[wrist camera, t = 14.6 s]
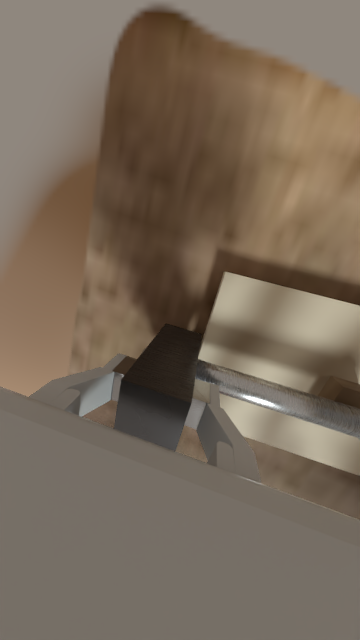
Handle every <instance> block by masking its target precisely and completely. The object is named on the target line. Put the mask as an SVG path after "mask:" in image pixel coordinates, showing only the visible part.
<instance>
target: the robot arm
mask: <svg viewBox="0 0 360 640" xmlns="http://www.w3.org/2000/svg"><path fill="white" fill-rule="evenodd" d="M136 360H137V359H135V358H132V357H129V356H126V355H123V354H120V353H119V354H117V355H116V356H115V357H114V358H113V359H112V360H111V361H109V362H108V363H107V364H106V365H105V366H104V367H103V368H101V367H99V368H95V369H91V370H88V371H84V372H81V373H77V374H73V375H70V376H66V377H62V378H59V379H55V380H52V381H50V382H49V383H47V384H46V385H45V386H43V387H42V388H40V389H39V390H38V391H36V392H35V393H33V394H32V395H30V396H29V397H27V396H24V395H22V394H19V393H16V392H13V391H11V390H8V389H5V388H3V387H0V640H360V520H359V519H356V518H353V517H351V516H348V515H345V514H343V513H340V512H337V511H335V510H332V509H329V508H326V507H324V506H321V505H318V504H316V503H313V502H310V501H308V500H305V499H302V498H299V497H297V496H294V495H291V494H289V493H286V492H283V491H281V490H278V489H275V488H272V487H270V486H267V485H264V484H262V483H261V479H260V475H259V470H258V466H257V462H256V457H255V453H254V451H253V450H252V449H251V447H250V446H249V444H248V443H247V442H246V440H245V439H244V437H243V436H242V434H241V433H240V432H239V430H238V429H237V427H236V426H235V425H234V423H233V422H232V420H231V419H230V418H229V416H228V415H227V413H226V412H225V411H224V409H223V408H220V394H219V386H218V385H215V384H212V383H208V382H205V381H201V380H198V379H195V383H194V390H193V397H192V403H191V406H190V409H189V412H188V415H187V418H186V421H185V424H184V425H186V426H189V427H191V428H194V429H196V431H197V433H198V436H199V439H200V441H201V444H202V447H203V449H204V452H205V454H206V457H207V460H208V462H207V463H205V462H202V461H200V460H197V459H194V458H192V457H189V456H186V455H183V454H181V453H178V452H175V451H173V450H170V449H167V448H165V447H162V446H159V445H157V444H154V443H151V442H148V441H146V440H143V439H140V438H138V437H135V436H132V435H130V434H127V433H124V432H121V431H119V430H116V429H113V428H111V427H108V426H105V425H103V424H100V423H97V422H94V421H92V420H89V419H86V418H84V417H81V416H83V415H85V414H87V413H89V412H90V411H92V410H94V409H96V408H97V407H99V406H101V405H103V404H105V403H106V402H108V401H110V400H111V399H112V400H115V401H118V398H119V391H120V384H121V379H122V378H123V377H124V375H125V374H126V373H127V372H128V370H129V369H130V368H131V367H132V365H133V364H134V363H135V362H136Z"/></svg>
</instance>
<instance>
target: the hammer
mask: <svg viewBox="0 0 360 640" xmlns="http://www.w3.org/2000/svg"><path fill="white" fill-rule="evenodd" d="M201 335H202V334H200V333H196V332H193V331H189V330H186V329H182V328H179V327H176V326H172V325H169V324H165V325H164V327H163V328H162V329H161V330H160V332H159V333H158V334H157V335H156V337H155V338H154V339H153V340H152V342H151V343H150V344H149V345H148V347H146V348H145V349H144V350H143V351H142V353H141V355H140V357H139V358H138V359H137V360H136V362H135V363H134V364H133V365H132V367H131V368H130V369H129V370H128V372H127V373H126V374H125V375H124V377H123V378H122V379H121V384H120V391H119V398H118V405H117V412H116V419H115V426H114V429H116V430H119V431H121V432H124V433H127V434H130V435H132V436H135V437H138V438H140V439H143V440H146V441H148V442H151V443H154V444H157V445H159V446H162V447H165V448H167V449H170V450H173V451H175V450H176V447H177V444H178V442H179V439H180V436H181V433H182V430H183V427H184V424H185V421H186V418H187V415H188V412H189V409H190V406H191V403H192V397H193V390H194V383H195V379H198V380H201V381H205V382H208V383H212V384H215V385H218V386H219V393H220V394H223V395H226V396H229V397H232V398H235V399H238V400H241V401H245V402H248V403H251V404H254V405H257V406H260V407H263V408H266V409H269V410H272V411H276V412H279V413H282V414H285V415H288V416H291V417H294V418H297V419H300V420H303V421H306V422H310V423H313V424H316V425H319V426H322V427H325V428H328V429H331V430H334V431H337V432H340V433H344V434H347V435H350V436H353V437H356V438H358V439H359V441H360V409H359V408H356V407H353V406H349V405H346V404H343V403H340V402H336V401H333V400H330V399H327V398H323V397H320V396H317V395H314V394H310V393H307V392H304V391H301V390H297V389H294V388H291V387H288V386H284V385H281V384H278V383H275V382H271V381H268V380H265V379H262V378H258V377H255V376H252V375H249V374H245V373H242V372H239V371H236V370H232V369H229V368H226V367H223V366H219V365H216V364H213V363H210V362H206V361H203V360H200V359H198V355H199V349H200V342H201Z"/></svg>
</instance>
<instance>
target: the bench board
mask: <svg viewBox="0 0 360 640" xmlns="http://www.w3.org/2000/svg"><path fill="white" fill-rule="evenodd" d="M198 359H200V360H203V361H206V362H210V363H213V364H216V365H219V366H223V367H226V368H229V369H232V370H236V371H239V372H242V373H245V374H249V375H252V376H255V377H258V378H262V379H265V380H268V381H271V382H275V383H278V384H281V385H284V386H288V387H291V388H294V389H297V390H301V391H304V392H307V393H310V394H314V395H317V396H320V397H323V398H327V399H330V400H333V401H336V402H340V403H343V404H346V405H349V406H353V407H356V408H359V409H360V306H359V305H355V304H351V303H347V302H343V301H339V300H335V299H331V298H328V297H324V296H320V295H316V294H312V293H308V292H304V291H300V290H296V289H292V288H288V287H284V286H280V285H276V284H273V283H269V282H265V281H261V280H257V279H253V278H249V277H245V276H241V275H237V274H233V273H229V272H225V271H224V273H223V276H222V279H221V282H220V285H219V289H218V292H217V295H216V298H215V301H214V304H213V308H212V311H211V314H210V317H209V320H208V323H207V327H206V330H205V333H204V336H203V339H202V342H201V346H200V349H199V355H198ZM219 394H220V393H219ZM220 408H223V409H224V411H225V412H226V413H227V415H228V416H229V418H230V419H231V420H232V422H233V423H234V425H235V426H236V427H237V429H238V430H239V432H240V433H241V434H242V436H245V437H247V438H250V439H253V440H256V441H259V442H262V443H265V444H268V445H271V446H274V447H277V448H280V449H283V450H285V451H288V452H291V453H294V454H297V455H300V456H303V457H306V458H309V459H312V460H315V461H318V462H321V463H323V464H326V465H329V466H332V467H335V468H338V469H341V470H344V471H347V472H350V473H353V474H356V475H358V476H360V441H359V439H358V438H356V437H353V436H350V435H347V434H344V433H340V432H337V431H334V430H331V429H328V428H325V427H322V426H319V425H316V424H313V423H310V422H306V421H303V420H300V419H297V418H294V417H291V416H288V415H285V414H282V413H279V412H276V411H272V410H269V409H266V408H263V407H260V406H257V405H254V404H251V403H248V402H245V401H241V400H238V399H235V398H232V397H229V396H226V395H223V394H220Z"/></svg>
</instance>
